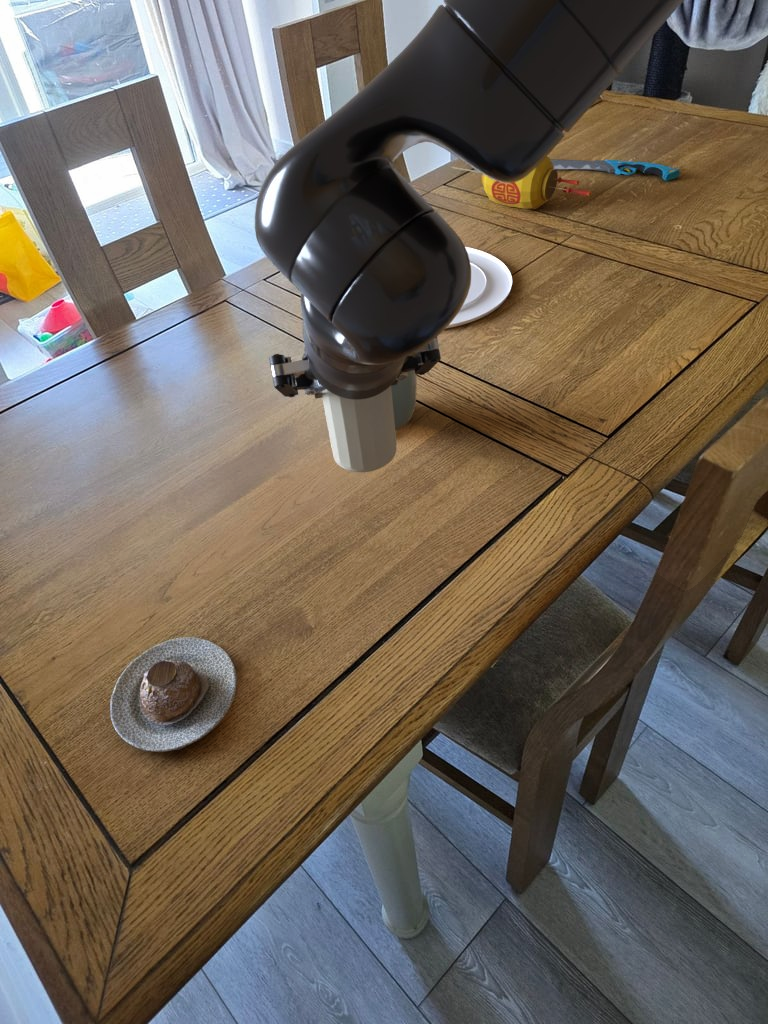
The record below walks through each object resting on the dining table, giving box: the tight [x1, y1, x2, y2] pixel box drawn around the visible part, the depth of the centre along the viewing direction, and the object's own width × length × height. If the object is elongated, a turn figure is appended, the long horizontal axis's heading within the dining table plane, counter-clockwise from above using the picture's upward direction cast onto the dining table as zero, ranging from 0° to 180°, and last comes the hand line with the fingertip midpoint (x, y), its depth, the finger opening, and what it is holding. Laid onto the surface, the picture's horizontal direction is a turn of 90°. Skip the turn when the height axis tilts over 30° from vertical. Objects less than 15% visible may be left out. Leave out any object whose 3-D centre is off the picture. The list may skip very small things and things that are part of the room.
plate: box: [445, 246, 513, 329], centre depth 117 cm, size 28×28×1 cm
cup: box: [391, 370, 418, 432], centre depth 89 cm, size 10×10×13 cm
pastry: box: [110, 636, 238, 753], centre depth 65 cm, size 12×12×5 cm
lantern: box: [450, 155, 592, 211], centre depth 134 cm, size 10×10×30 cm
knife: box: [550, 158, 681, 182], centre depth 146 cm, size 37×5×2 cm, turn 62°
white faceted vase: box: [322, 386, 397, 473], centre depth 64 cm, size 6×6×16 cm
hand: (353, 380), depth 66 cm, fingers closed on white faceted vase, 6 cm apart
